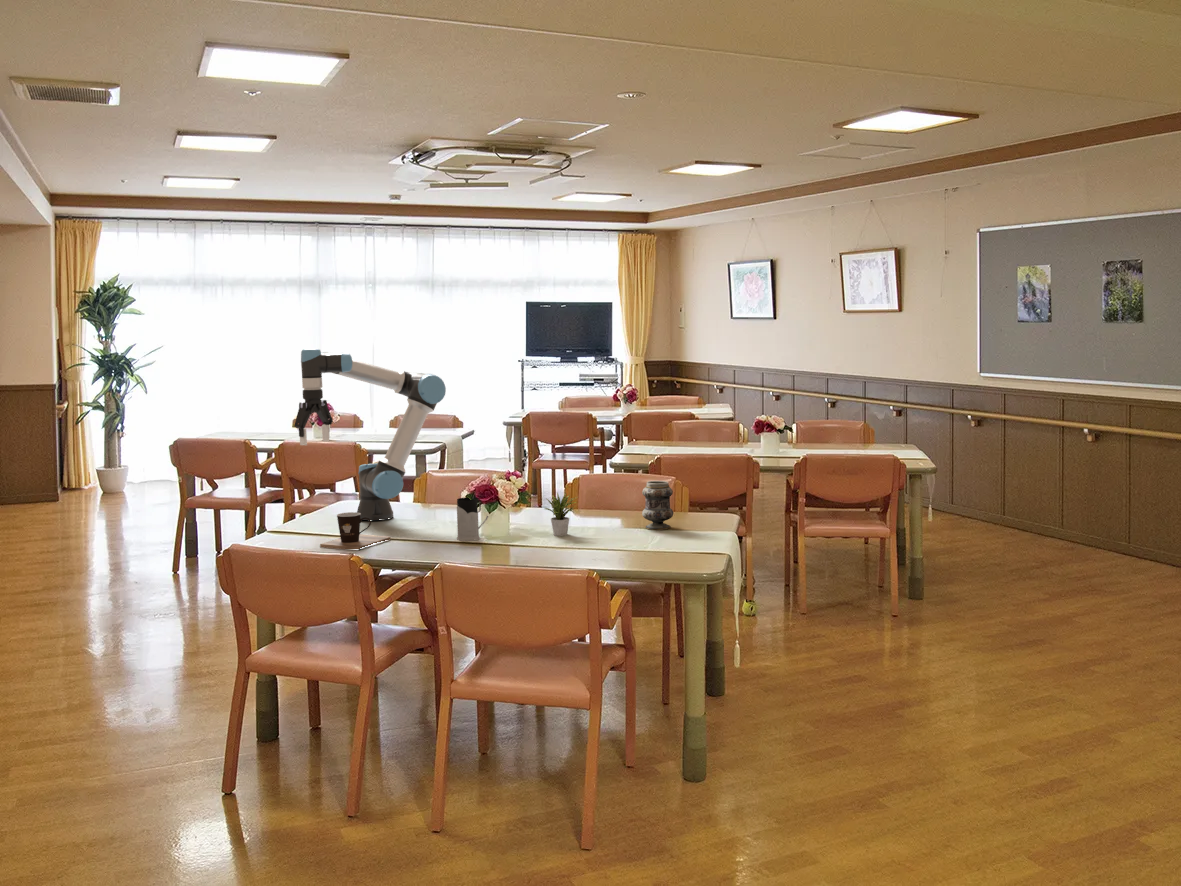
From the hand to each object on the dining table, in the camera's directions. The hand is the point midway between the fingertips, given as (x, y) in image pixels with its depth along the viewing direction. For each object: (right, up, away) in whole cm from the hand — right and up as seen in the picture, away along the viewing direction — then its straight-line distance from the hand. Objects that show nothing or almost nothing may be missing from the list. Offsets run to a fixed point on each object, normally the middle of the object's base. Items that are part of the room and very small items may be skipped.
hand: (314, 443), depth 432 cm
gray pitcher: (+64, -36, -14) cm, 74 cm away
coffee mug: (+20, -36, -24) cm, 48 cm away
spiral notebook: (+21, -37, -22) cm, 48 cm away
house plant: (+96, -35, -13) cm, 103 cm away
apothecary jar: (+134, -33, -2) cm, 138 cm away
